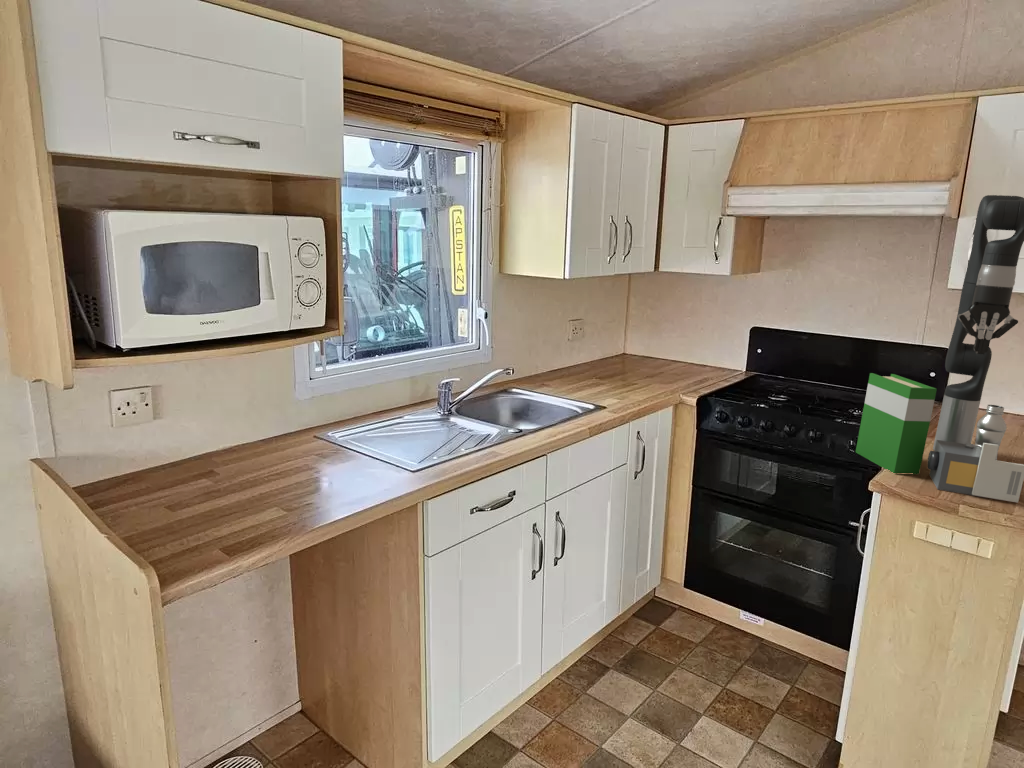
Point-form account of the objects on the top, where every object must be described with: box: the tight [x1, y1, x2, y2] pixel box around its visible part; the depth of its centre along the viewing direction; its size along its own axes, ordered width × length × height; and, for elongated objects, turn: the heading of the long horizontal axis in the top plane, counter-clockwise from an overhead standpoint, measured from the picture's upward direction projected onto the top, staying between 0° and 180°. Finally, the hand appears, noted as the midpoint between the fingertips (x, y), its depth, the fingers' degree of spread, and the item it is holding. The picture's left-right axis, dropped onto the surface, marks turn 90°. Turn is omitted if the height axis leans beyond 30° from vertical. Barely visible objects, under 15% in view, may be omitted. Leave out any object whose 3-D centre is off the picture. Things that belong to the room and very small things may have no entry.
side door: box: [971, 443, 1024, 503], centre depth 169 cm, size 1×10×14 cm, turn 68°
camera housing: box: [926, 440, 983, 498], centre depth 178 cm, size 12×12×11 cm
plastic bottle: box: [974, 404, 1008, 461], centre depth 185 cm, size 6×7×20 cm
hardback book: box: [855, 372, 937, 475], centre depth 192 cm, size 18×7×24 cm, turn 6°
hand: (979, 353), depth 172 cm, fingers closed
